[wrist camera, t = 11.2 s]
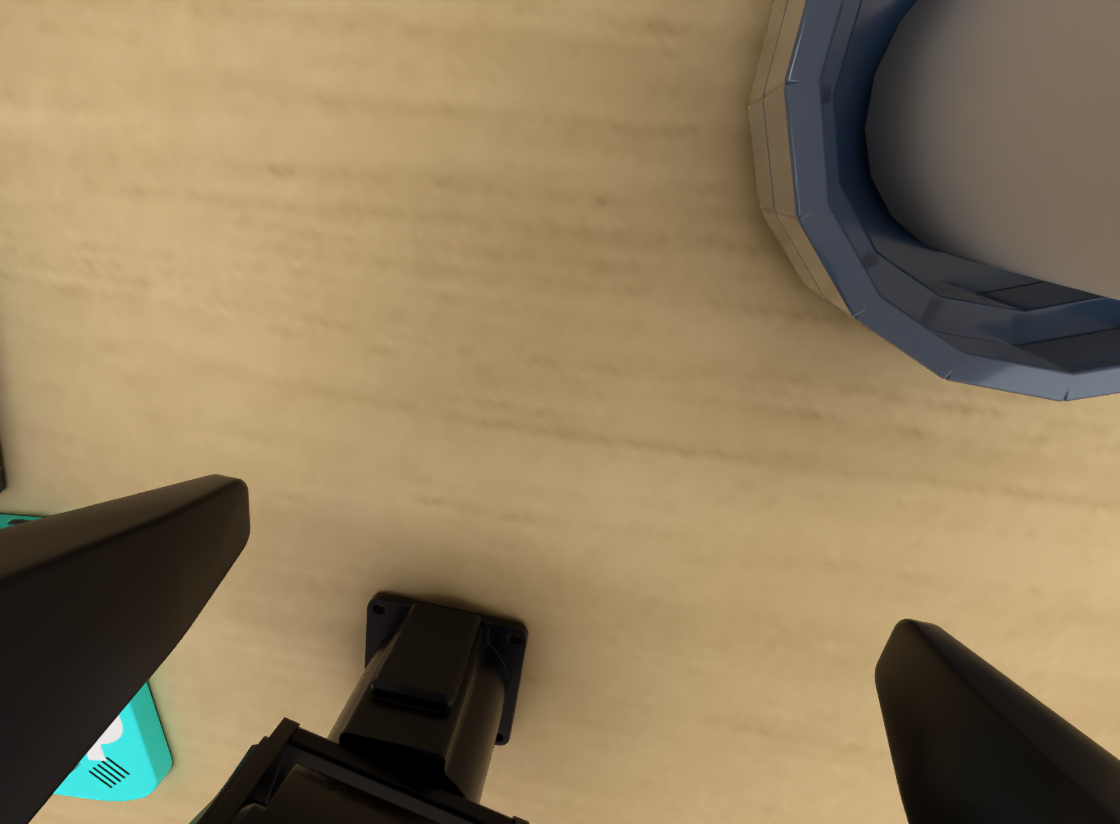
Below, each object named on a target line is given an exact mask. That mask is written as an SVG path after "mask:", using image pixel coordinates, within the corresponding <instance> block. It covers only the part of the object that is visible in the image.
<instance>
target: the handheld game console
mask: <svg viewBox="0 0 1120 824" xmlns="http://www.w3.org/2000/svg"><path fill="white" fill-rule="evenodd" d="M41 518H42V517H30V516H18V515H5V514H0V529H2V528H6V527H9V526H13V525H17V524H21V523H25V522H29V521H33V520H37V519H41ZM171 766H172V758H171V755H170V752H169V749H168V746H167V743H166V740H165V737H164V734H163V730H162V727H161V724H160V721H159V718H158V715H157V712H156V709H155V706H154V703H153V700H152V697H151V694H150V691H149V688H148V684H147V682H146V683H145V684H144V685H143V687H142V688H141V689H140V690H139V691H138V693H137V694H136V695H135V696H134V697H133V699H132V700H131V701H130V702H129V703H128V705H127V706H126V707H125V708H124V709H123V711H122V712H121V713H120V714H119V715H118V717H117V718H116V719H115V720H114V721H113V723H112V724H111V725H110V726H109V727H108V728H107V730H106V731H105V732H104V733H103V734H102V736H101V737H100V738H99V739H98V740H97V742H96V743H95V744H94V745H93V746H92V748H91V749H90V750H89V751H88V752H87V754H86V755H85V756H84V757H83V758H82V760H81V761H80V762H79V763H78V764H77V766H76V767H75V768H74V769H73V770H72V772H71V773H70V774H69V775H68V776H67V778H66V779H65V780H64V781H63V782H62V784H61V785H60V786H59V787H58V788H57V790H56V791H55V792H54V793H53V794H58V795H65V796H72V797H80V798H87V799H94V800H103V801H127V800H134V799H138V798H143V797H146V796H147V795H149V794H150V793H151V792H152V791H153V790H155V789H156V787H157V786H158V785H159V784H160V782H161V781H162V780H163V778H164V777H165V776H166V775H167V773H168V772H169V771H170V769H171Z"/></svg>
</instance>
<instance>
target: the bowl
mask: <svg viewBox="0 0 1120 824" xmlns="http://www.w3.org/2000/svg"><path fill="white" fill-rule="evenodd" d="M916 1H917V0H774V2H773V6H772V10H771V14H770V18H769V22H768V26H767V30H766V34H765V38H764V42H763V46H762V50H761V54H760V58H759V62H758V66H757V70H756V74H755V78H754V82H753V86H752V90H751V94H750V98H749V102H748V106H749V108H748V117H749V126H750V134H751V143H752V152H753V160H754V169H755V178H756V186H757V195H758V204H759V206H760V207H761V208H760V210H761V212H762V214H763V216H764V217H765V219H766V221H767V223H768V224H769V226H770V228H771V229H772V231H773V233H774V235H775V236H776V238H777V240H778V241H779V243H780V245H781V246H782V248H783V250H784V252H785V253H786V255H787V257H788V258H789V260H790V262H791V264H792V265H793V267H794V269H795V270H796V272H797V274H798V275H799V277H800V279H801V281H802V282H803V283H804V284H805V286H806V287H807V288H809V289H810V290H812V291H813V292H815V293H816V294H818V295H819V296H821V297H822V298H824V299H825V300H827V301H828V302H830V303H831V304H833V305H834V306H836V307H837V308H838V309H840V310H841V311H843V312H844V313H846V314H847V315H849V316H850V317H852V318H853V319H855V320H856V321H858V322H859V323H861V324H862V325H864V326H865V327H866V328H868V329H869V330H871V331H872V332H874V333H875V334H877V335H878V336H880V337H881V338H883V339H884V340H886V341H887V342H889V343H890V344H892V345H893V346H895V347H896V348H898V349H899V350H900V351H902V352H903V353H905V354H906V355H908V356H909V357H911V358H912V359H914V360H915V361H917V362H918V363H920V364H921V365H923V366H924V367H926V368H927V369H929V370H930V371H932V372H933V373H935V374H936V375H937V376H939V377H940V378H942V379H946V380H947V381H952V382H957V383H963V384H968V385H973V386H979V387H984V388H989V389H995V390H1000V391H1005V392H1011V393H1016V394H1022V395H1027V396H1032V397H1038V398H1043V399H1048V400H1054V401H1071V400H1077V399H1084V398H1090V397H1097V396H1103V395H1110V394H1116V393H1120V300H1116V299H1112V298H1108V297H1105V296H1101V295H1097V294H1093V293H1089V292H1086V291H1082V290H1078V289H1074V288H1070V287H1066V286H1063V285H1059V284H1055V283H1051V282H1047V281H1044V280H1040V279H1036V278H1032V277H1028V276H1025V275H1021V274H1017V273H1013V272H1009V271H1006V270H1002V269H998V268H994V267H990V266H986V265H983V264H979V263H975V262H971V261H967V260H964V259H962V258H959V257H956V256H953V255H951V254H948V253H945V252H942V251H940V250H937V249H934V248H931V247H929V246H926V245H924V244H923V243H921V242H920V241H919V240H918V239H917V238H916V237H914V236H913V235H912V234H911V233H910V232H909V231H908V230H906V229H905V228H904V227H903V226H902V225H901V224H900V223H898V222H897V221H896V220H895V219H894V218H893V217H892V216H891V215H890V213H889V211H888V209H887V207H886V205H885V203H884V201H883V199H882V197H881V195H880V193H879V191H878V189H877V187H876V185H875V183H874V182H873V180H872V178H871V172H870V165H869V157H868V149H867V141H866V133H865V125H866V120H867V114H868V109H869V103H870V98H871V92H872V87H873V81H874V76H875V73H876V71H877V69H878V67H879V65H880V63H881V60H882V58H883V56H884V54H885V52H886V50H887V48H888V46H889V44H890V42H891V40H892V38H893V35H894V33H895V31H896V29H897V27H898V25H899V23H900V21H901V19H902V18H903V17H904V16H905V15H906V13H907V12H908V11H909V10H910V9H911V7H912V6H913V5H914V4H915V3H916Z"/></svg>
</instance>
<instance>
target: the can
mask: <svg viewBox="0 0 1120 824" xmlns="http://www.w3.org/2000/svg"><path fill="white" fill-rule="evenodd" d="M865 133H866V141H867V149H868V157H869V165H870V172H871V178H872V180H873V182H874V183H875V185H876V187H877V189H878V191H879V193H880V195H881V197H882V199H883V201H884V203H885V205H886V207H887V209H888V211H889V213H890V215H891V216H892V217H893V218H894V219H895V220H896V221H897V222H898V223H900V224H901V225H902V226H903V227H904V228H905V229H906V230H908V231H909V232H910V233H911V234H912V235H913V236H914V237H916V238H917V239H918V240H919V241H920V242H921V243H923V244H924V245H926V246H929V247H931V248H934V249H937V250H940V251H942V252H945V253H948V254H951V255H953V256H956V257H959V258H962V259H964V260H967V261H971V262H975V263H979V264H983V265H986V266H990V267H994V268H998V269H1002V270H1006V271H1009V272H1013V273H1017V274H1021V275H1025V276H1028V277H1032V278H1036V279H1040V280H1044V281H1047V282H1051V283H1055V284H1059V285H1063V286H1066V287H1070V288H1074V289H1078V290H1082V291H1086V292H1089V293H1093V294H1097V295H1101V296H1105V297H1108V298H1112V299H1116V300H1120V0H917V1H916V3H915V4H914V5H913V6H912V7H911V9H910V10H909V11H908V12H907V13H906V15H905V16H904V17H903V18H902V19H901V21H900V23H899V25H898V27H897V29H896V31H895V33H894V35H893V38H892V40H891V42H890V44H889V46H888V48H887V50H886V52H885V54H884V56H883V58H882V60H881V63H880V65H879V67H878V69H877V71H876V73H875V76H874V81H873V87H872V92H871V98H870V103H869V109H868V114H867V120H866V125H865Z"/></svg>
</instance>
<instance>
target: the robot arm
mask: <svg viewBox="0 0 1120 824" xmlns="http://www.w3.org/2000/svg"><path fill="white" fill-rule="evenodd" d="M249 534H250V514H249V495H248V487H247V485H246V483H245V482H244V481H243V480H241V479H237V478H233V477H228V476H223V475H218V474H213V475H209V476H205V477H201V478H197V479H193V480H189V481H185V482H181V483H177V484H173V485H170V486H166V487H162V488H158V489H154V490H150V491H146V492H142V493H138V494H134V495H131V496H127V497H123V498H119V499H115V500H111V501H107V502H103V503H99V504H95V505H91V506H88V507H84V508H80V509H76V510H72V511H68V512H64V513H60V514H56V515H52V516H48V517H45V518H41V519H37V520H33V521H29V522H25V523H21V524H17V525H13V526H9V527H6V528H2V529H0V824H28V823H29V822H30V821H31V820H32V818H33V817H34V816H35V815H36V814H37V812H38V811H39V810H40V809H41V808H42V806H43V805H44V804H45V803H46V802H47V800H48V799H49V798H50V797H51V796H52V794H53V793H54V792H55V791H56V790H57V788H58V787H59V786H60V785H61V784H62V782H63V781H64V780H65V779H66V778H67V776H68V775H69V774H70V773H71V772H72V770H73V769H74V768H75V767H76V766H77V764H78V763H79V762H80V761H81V760H82V758H83V757H84V756H85V755H86V754H87V752H88V751H89V750H90V749H91V748H92V746H93V745H94V744H95V743H96V742H97V740H98V739H99V738H100V737H101V736H102V734H103V733H104V732H105V731H106V730H107V728H108V727H109V726H110V725H111V724H112V723H113V721H114V720H115V719H116V718H117V717H118V715H119V714H120V713H121V712H122V711H123V709H124V708H125V707H126V706H127V705H128V703H129V702H130V701H131V700H132V699H133V697H134V696H135V695H136V694H137V693H138V691H139V690H140V689H141V688H142V687H143V685H144V684H145V683H146V682H147V681H148V679H149V678H150V677H151V676H152V675H153V673H154V672H155V671H156V670H157V669H158V667H159V666H160V665H161V664H162V663H163V661H164V660H165V659H166V658H167V657H168V655H169V654H170V653H171V652H172V650H173V649H174V648H175V647H176V645H177V644H178V643H179V642H180V640H181V639H182V638H183V636H184V635H185V634H186V632H187V631H188V629H189V628H190V627H191V625H192V624H193V623H194V621H195V620H196V618H197V617H198V615H199V614H200V612H201V611H202V609H203V608H204V606H205V605H206V603H207V602H208V600H209V599H210V598H211V596H212V595H213V593H214V592H215V590H216V589H217V587H218V586H219V584H220V583H221V581H222V580H223V578H224V577H225V576H226V574H227V573H228V571H229V570H230V568H231V567H232V565H233V564H234V562H235V561H236V559H237V558H238V556H239V555H240V553H241V552H242V551H243V549H244V547H245V546H246V544H247V541H248V538H249ZM379 605H382V606H383V607H384V608H382V607H380V606H379ZM511 634H516V635H518V636H519V637H515V636H512V635H511ZM527 640H528V630H527V628H526V626H524V625H523V624H521V623H519V622H515V621H510V620H505V619H501V618H496V617H492V616H487V615H482V614H478V613H473V612H469V611H464V610H459V609H455V608H450V607H445V606H441V605H436V604H432V603H427V602H422V601H418V600H413V599H409V598H404V597H399V596H395V595H390V594H386V593H378V594H375V595H374V596H373V597H372V599H371V600H370V602H369V603H368V607H367V629H366V653H365V671H364V673H363V674H362V676H361V678H360V680H359V682H358V683H357V685H356V687H355V689H354V691H353V692H352V694H351V696H350V698H349V700H348V701H347V703H346V705H345V707H344V709H343V710H342V712H341V714H340V716H339V718H338V719H337V721H336V723H335V725H334V727H333V728H332V730H331V732H330V734H329V736H328V737H327V739H326V738H324V737H322V736H319V735H317V734H315V733H312V732H310V731H308V730H305V729H303V728H301V727H299V726H300V724H299V723H297V722H295V721H292V720H290V719H288V718H285V717H284V719H283V720H282V721H281V722H280V724H279V725H278V726H277V728H276V729H275V730H274V732H273V733H272V734H271V735H270V737H267V736H264V737H263V739H262V740H261V741H260V742H259V744H256V745H252V746H251V747H250V749H249V750H248V752H247V753H246V755H245V756H244V758H243V759H242V761H241V762H240V764H239V765H238V766H237V768H236V769H235V771H234V772H233V774H232V775H231V777H230V778H229V780H228V781H227V782H226V784H225V785H224V786H223V788H222V789H221V790H220V792H219V793H218V794H217V795H216V796H215V797H214V799H213V800H212V801H211V802H210V803H209V804H208V805H207V806H206V807H205V808H204V809H203V810H202V811H201V812H200V813H199V814H198V815H197V816H196V817H195V818H194V819H193V820H192V821H191V822H190V823H189V824H529V822H528V821H526V820H523V819H521V818H519V817H516V816H513V817H512V818H511V817H508V816H506V815H504V814H501V813H499V812H497V811H494V810H492V809H490V808H487V807H485V806H483V805H480V804H479V803H480V799H481V795H482V791H483V787H484V783H485V779H486V775H487V771H488V767H489V763H490V760H491V756H492V752H493V748H494V745H505V744H506V743H508V741H509V739H510V734H511V729H512V724H513V718H514V713H515V707H516V701H517V696H518V690H519V685H520V679H521V673H522V668H523V662H524V657H525V651H526V645H527ZM875 684H876V689H877V693H878V698H879V702H880V707H881V711H882V716H883V721H884V725H885V730H886V734H887V739H888V743H889V748H890V752H891V757H892V761H893V766H894V770H895V775H896V779H897V784H898V787H899V791H900V795H901V799H902V803H903V806H904V810H905V813H906V816H907V819H908V823H909V824H1120V760H1119V759H1117V758H1116V757H1115V756H1113V755H1112V754H1111V753H1109V752H1108V751H1106V750H1105V749H1104V748H1102V747H1101V746H1100V745H1098V744H1097V743H1096V742H1094V741H1093V740H1092V739H1090V738H1089V737H1088V736H1086V735H1085V734H1083V733H1082V732H1081V731H1079V730H1078V729H1077V728H1075V727H1074V726H1073V725H1071V724H1070V723H1069V722H1067V721H1066V720H1065V719H1063V718H1062V717H1061V716H1059V715H1058V714H1056V713H1055V712H1054V711H1052V710H1051V709H1050V708H1048V707H1047V706H1046V705H1044V704H1043V703H1042V702H1040V701H1039V700H1038V699H1036V698H1035V697H1033V696H1032V695H1031V694H1029V693H1028V692H1027V691H1025V690H1024V689H1023V688H1021V687H1020V686H1019V685H1017V684H1016V683H1015V682H1013V681H1012V680H1011V679H1009V678H1008V677H1006V676H1005V675H1004V674H1002V673H1001V672H1000V671H998V670H997V669H996V668H994V667H993V666H992V665H990V664H989V663H988V662H986V661H985V660H984V659H982V658H981V657H979V656H978V655H977V654H975V653H974V652H973V651H971V650H970V649H969V648H967V647H966V646H965V645H963V644H962V643H961V642H959V641H958V640H956V639H955V638H954V637H952V636H951V635H950V634H948V633H947V632H946V631H944V630H943V629H942V628H940V627H939V626H937V625H934V624H931V623H926V622H922V621H917V620H912V619H903V620H900V621H899V622H898V623H897V624H896V625H895V627H894V629H893V631H892V633H891V635H890V637H889V639H888V641H887V643H886V646H885V648H884V650H883V652H882V654H881V656H880V658H879V660H878V662H877V665H876V669H875Z"/></svg>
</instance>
